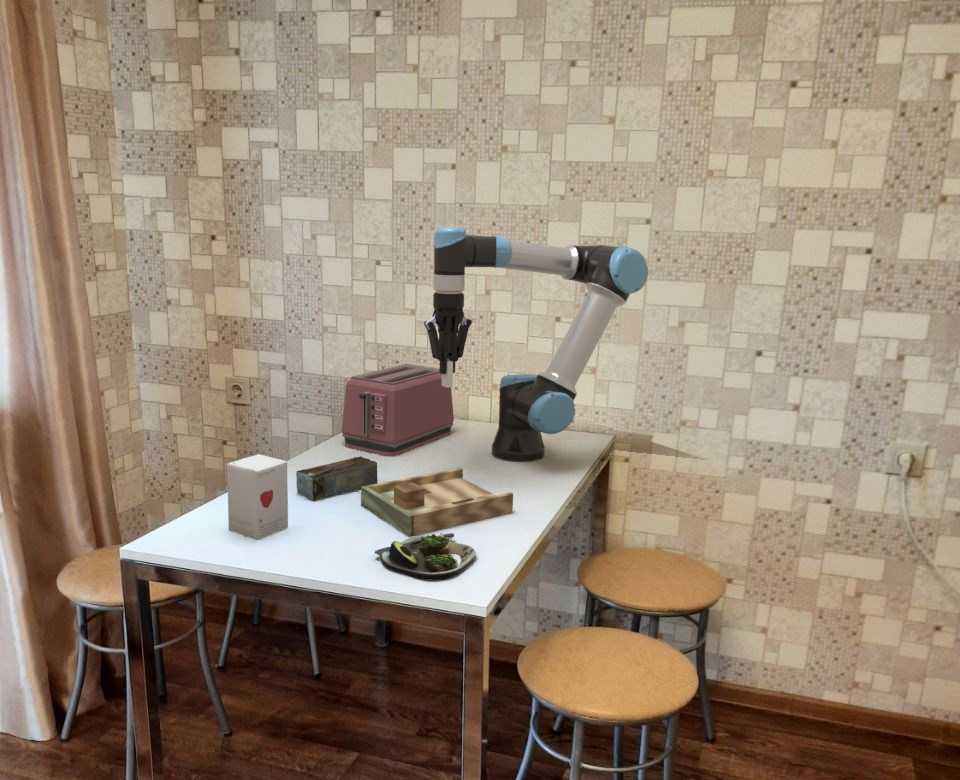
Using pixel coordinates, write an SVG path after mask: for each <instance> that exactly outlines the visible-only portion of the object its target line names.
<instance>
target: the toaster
mask: <svg viewBox="0 0 960 780" xmlns="http://www.w3.org/2000/svg"><path fill="white" fill-rule="evenodd" d="M452 393H453V392H452V387H450V388H447V387H444V386H442V374H440V372H439V367H437V368H436V367H429V366H423V365H422V366H421V365H416V364H409V363H404V364H400V365H395V366H392V367H387V368H383V369H380V370H379V369H378V370H375V371H371V372H367V373H363V374H358V375H354V376H352V377H351V378H349V380H348V381H347V382H346V384H345V394H344V397H345V398H344V404H343V414H342V423H341V434H342V437H343V438H344V446H346V447H345V448H347V447H348V448H347V449H350V448H351V450H354V449H356V450H355V451H359V450H360V452H363V451H364V452H363V453H368V452H370V453H369V454H373V453H374V455H377V454H378V456H382V455H383V457H397V456H400V455H402V454H405V452H406V453H408V452H411V451H413V450H416V449H418V448H420V446H421V447H423V446H426V445H428V444H430V442H431V443H433V441H434V442H436V441H438V439H439V440H441V439H443V437H444V438H446V437H448V435H449V436H450V435H451V432H452V431H451V427H453V426H454V420H455V419H454V407H453V405H454V404H453V394H452ZM445 436H446V437H445ZM440 438H441V439H440ZM435 440H436V441H435ZM425 444H426V445H425ZM417 447H418V448H417ZM415 448H416V449H415ZM412 449H413V450H412ZM410 450H411V451H410ZM396 455H397V456H396Z"/></svg>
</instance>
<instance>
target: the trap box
mask: <svg viewBox="0 0 960 780" xmlns="http://www.w3.org/2000/svg"><path fill="white" fill-rule="evenodd" d="M463 472H464V469H463V468H453V469H449V470H443V471H440V472H439V471H437V472H432V473H427V474H422V475H416V476H412V477H406V478H402V479H395V480H389V481H383V482H379V483H378V484H373V485H367V486H362V487H361V489H360V506H361V507H362V508H363V507H364V509H366V510H367V511H369V512H370V513H372V514H373V515H375V516H377V517H378V518H380V519H381V520H383V521H384V522H386V524H388V525H390V526H392V527H393V528H395V529H396V530H397V531H399V532H401V533H402V534H404V535H405V536H406V537H408V538H411V537H415V536H417V535H422V534H427V533H430V532H435V531H439V530H444V529H447V528H452V527H455V526H460V525H464V524H469V523H473V522H476V521H477V522H478V521H482V520H486V519H490V518H495V517H499V516H503V515H502V514H504V515H506V514H507V513H508V514H511V513H510V512H512V513H513V511H514V508H513V506H514V493H513V492H505V493H500V494H495V493H492V492H491V491H488V490H487V489H485V488H482V487H481V486H479V485H477V484H475V483H472V482H471V481H468V480H467V479H464V478H463V477H464V473H463ZM408 483H415V484H417V485H419V486H420V487H422V488H424V489H425V492H424V506H421V507H416V508H411V509H406V510H404V509H403V508H401V507H400V506H398V505H396V504H395V503H394V486H397V485H402V484H408ZM508 514H507V515H508Z"/></svg>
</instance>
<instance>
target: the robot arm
mask: <svg viewBox="0 0 960 780" xmlns="http://www.w3.org/2000/svg"><path fill="white" fill-rule="evenodd" d="M466 268H494V269H497V268H499V269H507V270H513V271H514V270H515V271H523V272H531V273H538V274H539V273H540V274H545V275H547V274H548V275H556V276H561V278H562V279H563V280H567V281H573V282H578V283H582V284H585V285H586V289H587V295H586V296H585V297H584V299H583V302H582V303H581V305H580V308H579V309H578V311H577V313H576V314H575V317H574V319H573V320H572V323H570V326H569V328H568V330H567V331H566V333H565V335H564V337H563V339H562V341H561V343H560V344H559V346H558V349H557V350H556V352H555V354H554V356H553V358H552V360H551V362H550V364H549V366H548V367H547V370H545V371H542V372H539V373H537V374H534V373H533V374H528V373H526V374H525V373H524V374H522V373H521V374H519V373H518V374H507V375H504V376H502V377H501V379H500V383H499V389H498V390H499V402H498V405H499V408H498V410H499V411H498V428H497V430H496V432H495V436H494V439H493V443H492V445H491V454H492V456H494V457H495V458H497V459H501V460H504V461H508V462H509V461H510V462H533V461H534V462H535V461H538V460H540V459H543V458H544V457H545V452H546V451H545V449H546V448H545V447H546V446H545V444H544V440H543V436H542V433H543V434H546V435H556V434H558V433H562V432H563V431H564V430H566V429H567V428H568V427H570V425H571V423H572V422H573V421H574V419H575V415H576V409H575V407H576V405H575V403H574V400H575V399H576V397H577V395H578V392H577V388H576V385H577V383H578V381H579V379H580V377H581V376H582V373H583V372H584V370H585V368H586V366H587V364H588V362H589V361H590V359H591V357H592V354H593V353H594V351H595V349H596V347H597V345H598V343H599V341H600V340H601V337H602V336H603V334H604V332H605V330H606V329H607V327H608V324H609V323H610V321H611V319H612V317H613V315H614V313H615V312H616V309H617V308H618V307H621V306H623V305H626V302H627V301H628V299H629V297H630V295H631V294H635V293H636V292H639V291H641V290H642V288H643V287H644V286H645V284H646V282H647V279H648V276H649V267H648V264H647V260H646V258H645V257H644V255H643V254H642V253H641V252H640V251H639V250H637V249H635V248H631V247H628V246H614V245H613V246H610V245H603V244H602V245H599V244H598V245H574V244H568V245H566V246H565V247H561V246H553V245H546V244H538V243H532V242H522V241H516V240H510V239H508V238H507V237H506V236H498V235H494V236H492V235H491V236H489V235H486V236H485V235H476V234H475V235H473V234H468V233H467V232H466V229H465V228H463V227H445V226H443V227H438V228H436V230H435V231H434V239H433V290H434V291H435V292H434V293H433V297H432V298H433V300H432V303H433V304H432V305H433V309H434V310H433V312H432V316H431V318H430V319H429V320H424V322H423V325H424V328H425V329H426V331H427V335H428V340H429V345H430V352H431V355H432V358H433V359H436V360H438V361H439V367H438V369H439V372H440V374H442V386H444V387H447V388H450V387H451V388H453V385H454V384H453V381H454V380H453V375H454V374H455V372H456V362H458V361H459V359H461V358H462V357H463V355H464V351H465V346H466V342H467V337H468V333H469V329H470V327H471V326H472V323H473V320H472V319H470V318H467V317H466V316H465V313H464V306H465V294H464V293H463V292H464V291H465V290H466V289H465V281H466V279H465V278H466V277H465V273H466ZM436 327H437V328H436Z"/></svg>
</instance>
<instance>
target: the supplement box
mask: <svg viewBox="0 0 960 780" xmlns="http://www.w3.org/2000/svg"><path fill="white" fill-rule="evenodd" d="M226 470H227V471H226V474H227V475H226V476H227V479H226V480H227V511H228V512H227V515H228V531H230V532H232V533H233V532H234V533H236V534H239V535H242V536H245V537H248V538H252V539H254V540H256V541H258V540H261V539H264V538H266V537H268V536H270V535H271V536H272V534H275V533H278V532H280V531H282V530H285V529H287V528H289V505H288V504H289V501H288V499H289V498H288V496H289V495H288V461H287V460H283V459H279V458H277V457H276V458H275V457H271V456H267V455H263V454H260V453H259V454H258V453H257V454H254V455H251V456H248V457H243V458H240V459H237V460H235V461H231V462H228V463H227V464H226Z"/></svg>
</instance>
